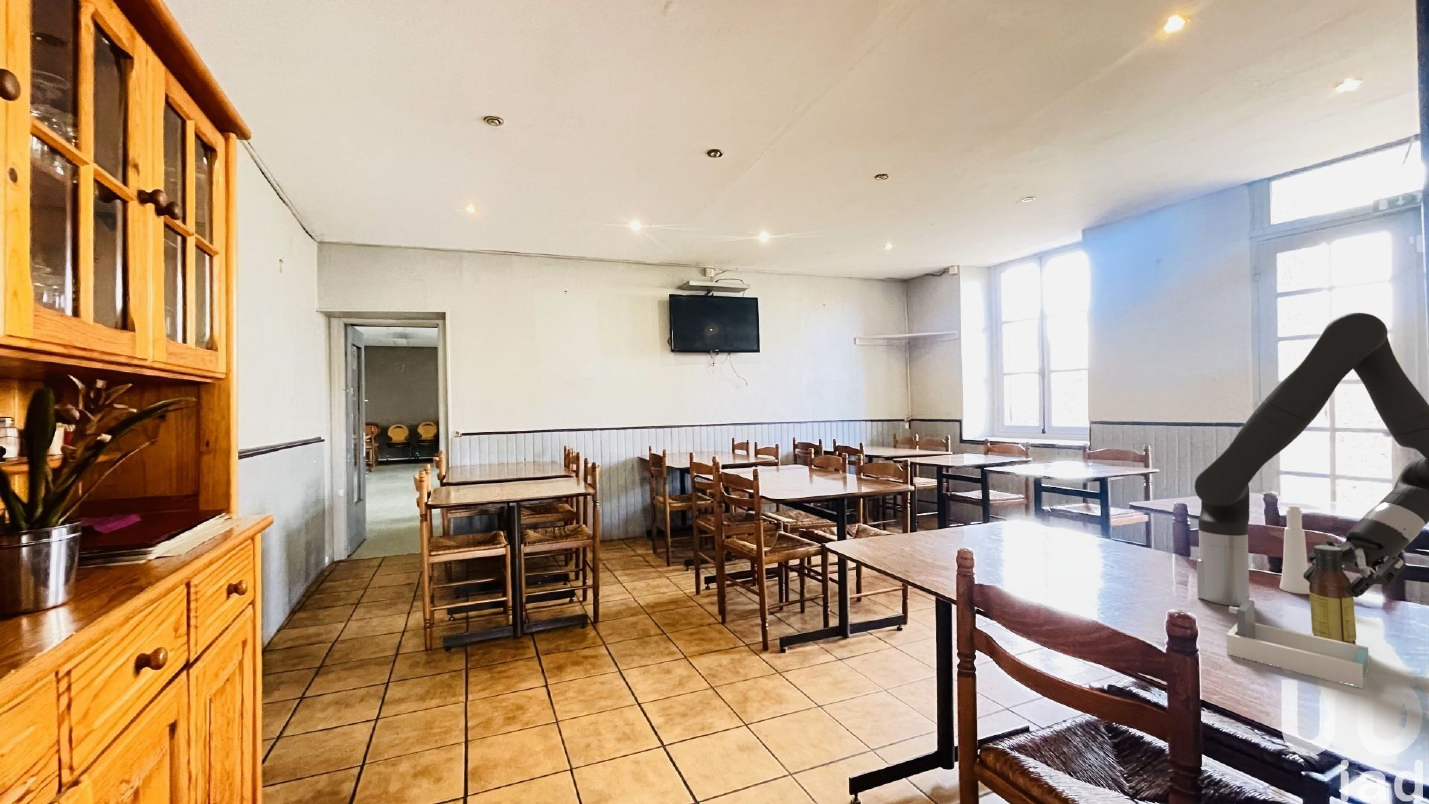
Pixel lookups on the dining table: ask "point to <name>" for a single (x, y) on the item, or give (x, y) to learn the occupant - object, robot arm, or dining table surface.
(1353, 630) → the sauce bottle
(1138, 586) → the dining table surface
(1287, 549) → the cosmetic bottle
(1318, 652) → the pusher lane
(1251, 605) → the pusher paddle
